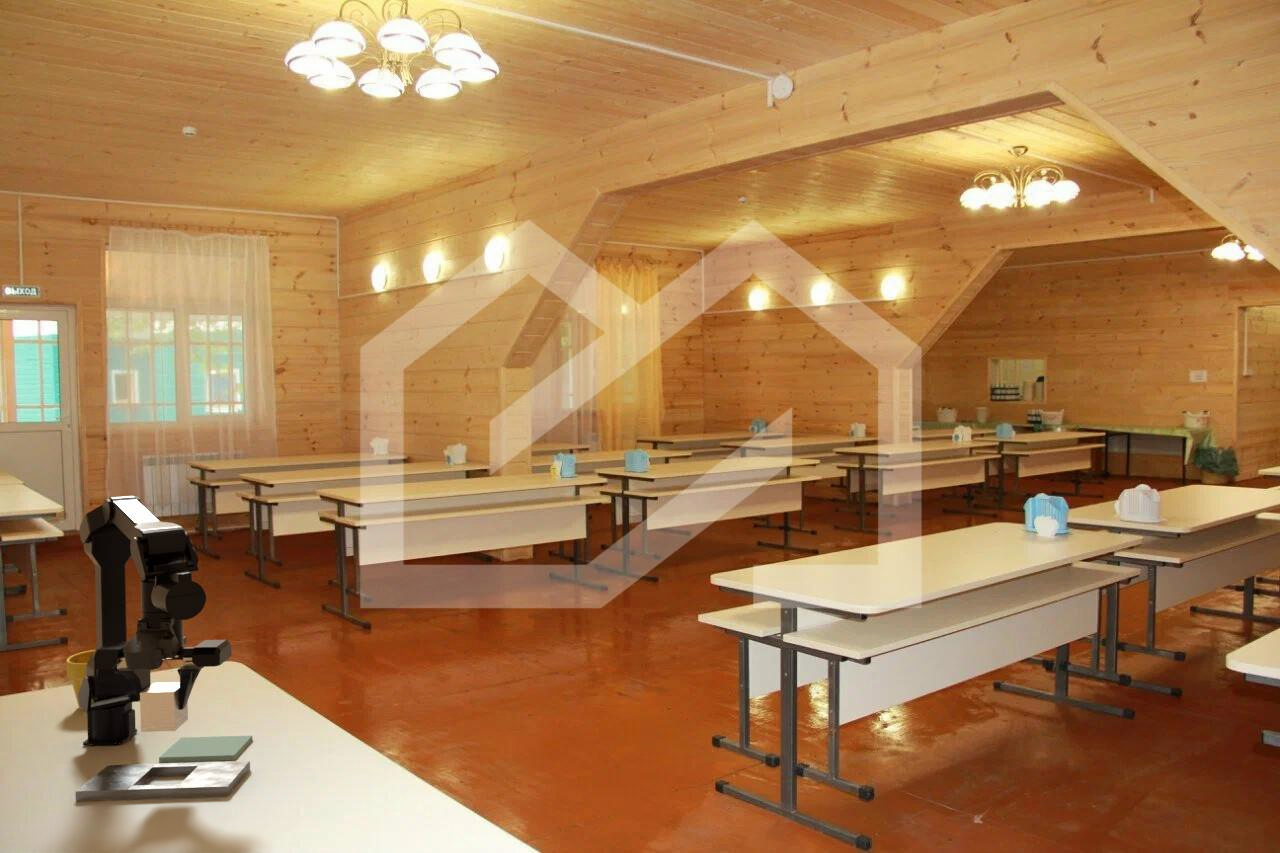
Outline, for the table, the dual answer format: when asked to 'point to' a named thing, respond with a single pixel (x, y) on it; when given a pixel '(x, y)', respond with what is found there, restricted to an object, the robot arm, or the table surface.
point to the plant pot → (78, 669)
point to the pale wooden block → (162, 707)
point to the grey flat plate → (132, 777)
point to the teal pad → (206, 748)
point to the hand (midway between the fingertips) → (164, 709)
